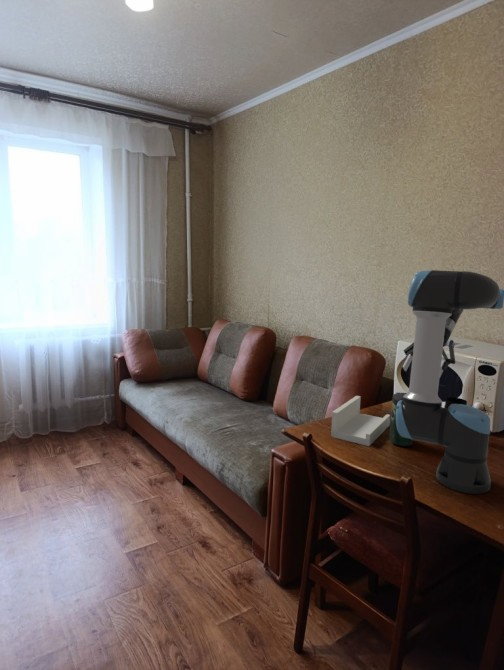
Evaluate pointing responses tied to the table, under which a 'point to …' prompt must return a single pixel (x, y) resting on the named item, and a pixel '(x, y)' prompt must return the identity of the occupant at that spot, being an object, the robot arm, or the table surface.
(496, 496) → the table surface
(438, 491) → the table surface
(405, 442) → the coffee jar
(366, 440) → the channel shelf
